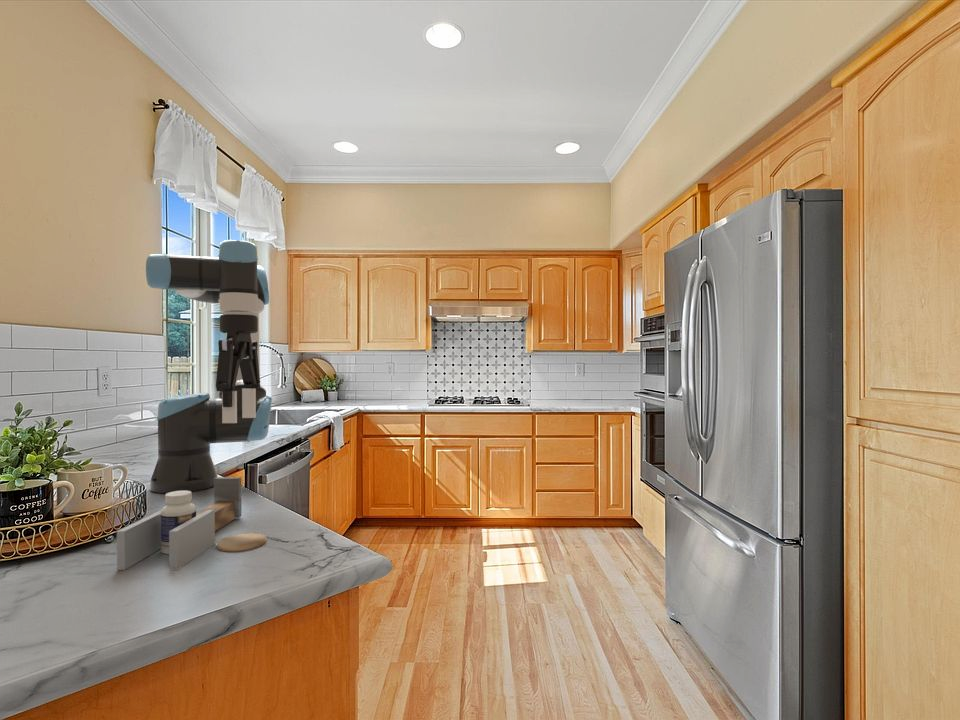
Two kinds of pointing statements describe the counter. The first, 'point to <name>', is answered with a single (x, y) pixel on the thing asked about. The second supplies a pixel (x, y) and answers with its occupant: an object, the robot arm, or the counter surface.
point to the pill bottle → (175, 514)
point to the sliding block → (225, 500)
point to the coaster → (241, 542)
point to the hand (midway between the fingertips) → (239, 420)
